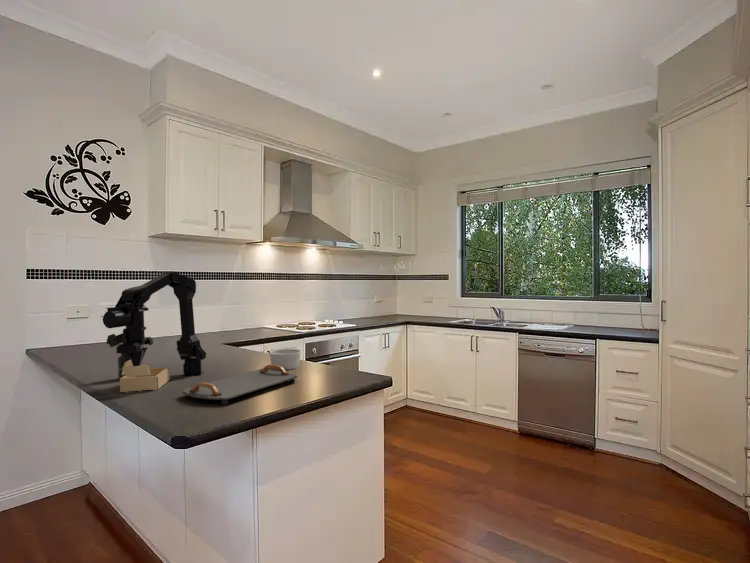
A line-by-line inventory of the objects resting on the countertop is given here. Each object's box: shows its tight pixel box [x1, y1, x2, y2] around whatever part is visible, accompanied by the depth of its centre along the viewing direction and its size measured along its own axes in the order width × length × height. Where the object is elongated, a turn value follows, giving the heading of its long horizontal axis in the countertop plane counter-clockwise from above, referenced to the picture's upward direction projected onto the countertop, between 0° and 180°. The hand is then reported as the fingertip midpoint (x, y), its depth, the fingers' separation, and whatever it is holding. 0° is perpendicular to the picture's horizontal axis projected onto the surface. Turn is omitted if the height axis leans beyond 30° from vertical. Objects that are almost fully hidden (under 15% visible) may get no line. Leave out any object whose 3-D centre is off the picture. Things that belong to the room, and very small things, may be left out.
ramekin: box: [269, 348, 302, 371], centre depth 192 cm, size 13×13×7 cm
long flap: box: [122, 360, 133, 375], centre depth 163 cm, size 1×12×4 cm, turn 12°
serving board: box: [181, 363, 298, 406], centre depth 156 cm, size 39×23×6 cm, turn 149°
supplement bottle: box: [117, 353, 131, 381], centre depth 178 cm, size 7×7×12 cm
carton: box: [119, 366, 171, 393], centre depth 165 cm, size 12×16×5 cm
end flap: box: [123, 364, 150, 377], centre depth 155 cm, size 8×1×4 cm
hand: (136, 369), depth 155 cm, fingers closed
